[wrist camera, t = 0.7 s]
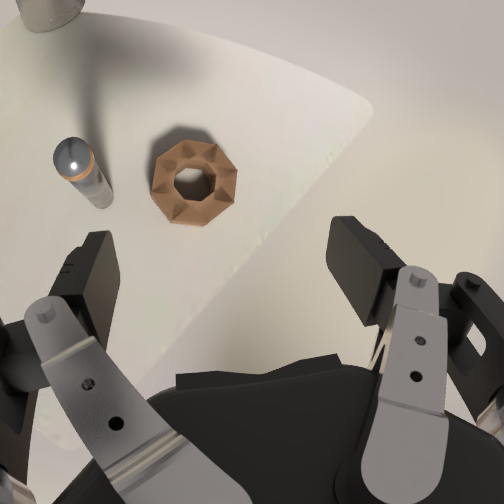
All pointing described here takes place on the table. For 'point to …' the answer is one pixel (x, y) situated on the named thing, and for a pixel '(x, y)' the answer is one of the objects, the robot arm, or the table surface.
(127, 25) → the table surface
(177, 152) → the bead
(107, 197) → the banded metal pin
